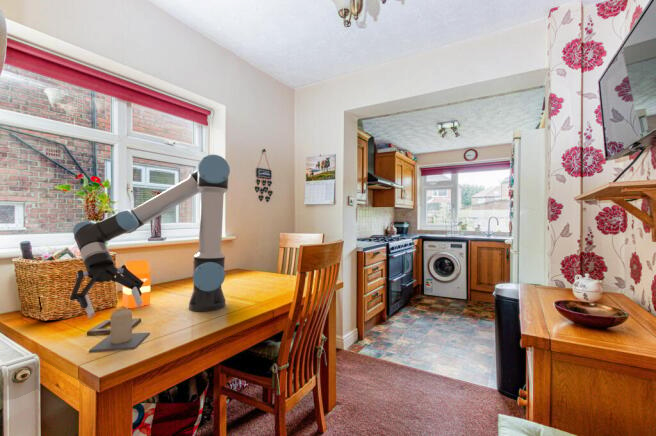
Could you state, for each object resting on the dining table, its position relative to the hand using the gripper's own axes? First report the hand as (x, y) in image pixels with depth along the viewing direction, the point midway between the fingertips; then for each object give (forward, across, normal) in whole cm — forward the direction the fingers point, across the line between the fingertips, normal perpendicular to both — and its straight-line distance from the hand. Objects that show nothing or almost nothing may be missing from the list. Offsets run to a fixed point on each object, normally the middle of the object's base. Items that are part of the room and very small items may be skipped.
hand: (117, 309), depth 96 cm
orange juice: (-21, -24, -36) cm, 48 cm away
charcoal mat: (+8, 0, -6) cm, 10 cm away
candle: (+8, 0, -6) cm, 10 cm away
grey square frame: (-3, -6, -17) cm, 18 cm away
